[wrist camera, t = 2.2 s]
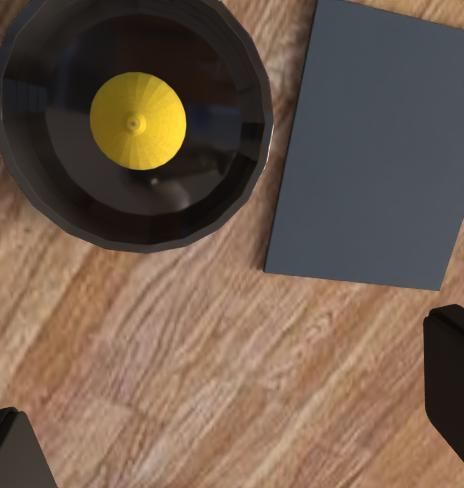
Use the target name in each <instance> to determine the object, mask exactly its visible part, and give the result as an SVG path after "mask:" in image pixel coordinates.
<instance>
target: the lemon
mask: <svg viewBox="0 0 464 488" xmlns="http://www.w3.org/2000/svg"><path fill="white" fill-rule="evenodd" d="M90 127H91V130H92V134H93V137H94V140H95V141H96V143H97V144H98V146H99V148H100V149H101V151H102V152H103V153H104V154H105V155H106V156H107V157H108V158H109V159H111V160H112V161H114V162H115V163H117V164H119V165H121V166H123V167H126V168H129V169H136V170H146V169H153V168H156V167H158V166H160V165H163V164H165V163H166V162H167V161H169V160H170V159H171V158H172V157H174V155H175V154H176V153H177V151H178V150H179V148H180V147H181V145H182V142H183V140H184V137H185V131H186V117H185V111H184V109H183V106H182V103H181V101H180V99H179V98H178V96H177V95H176V93H175V92H174V90H173V89H172V88H171V87H169V86H168V85H167V84H166V83H165V82H164V81H162V80H160V79H159V78H157V77H155V76H153V75H149V74H146V73H142V72H128V73H124V74H121V75H117V76H115V77H113V78H112V79H110V80H109V81H107V82H106V83H105V84H104V85H103V86H102V87H101V88H100V89H99V90H98V91H97V93H96V95H95V97H94V99H93V102H92V105H91V111H90Z"/></svg>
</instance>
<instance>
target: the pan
mask: <svg viewBox="0 0 464 488" xmlns="http://www.w3.org/2000/svg"><path fill="white" fill-rule="evenodd" d="M128 72H142V73H146V74H149V75H153V76H155V77H157V78H159V79H160V80H162V81H164V82H165V83H166V84H167V85H168V86H169V87H171V88H172V89H173V90H174V92H175V93H176V95H177V96H178V98H179V99H180V101H181V103H182V106H183V109H184V111H185V117H186V131H185V137H184V140H183V142H182V145H181V147H180V148H179V150H178V151H177V153H176V154H175V155H174V157H172V158H171V159H170V160H169V161H167V162H166V163H165V164H163V165H160V166H158V167H156V168H153V169H146V170H136V169H129V168H126V167H123V166H121V165H119V164H117V163H115V162H114V161H112V160H111V159H109V158H108V157H107V156H106V155H105V154H104V153H103V152H102V151H101V149H100V148H99V146H98V144H97V143H96V141H95V140H94V137H93V134H92V130H91V127H90V111H91V105H92V102H93V99H94V97H95V95H96V93H97V91H98V90H99V89H100V88H101V87H102V86H103V85H104V84H105V83H106V82H107V81H109V80H110V79H112V78H113V77H115V76H117V75H121V74H124V73H128ZM273 128H274V116H273V107H272V98H271V89H270V81H269V77H268V75H267V72H266V70H265V68H264V65H263V63H262V61H261V58H260V56H259V54H258V51H257V49H256V47H255V44H254V42H253V39H252V37H251V36H250V35H249V33H248V32H247V31H246V30H245V29H244V27H243V26H242V25H241V24H240V23H239V22H238V20H237V19H236V18H235V17H234V16H233V14H232V13H231V12H230V11H229V10H228V8H227V7H226V6H225V5H224V4H223V2H222V1H221V0H30V1H29V3H28V4H27V5H26V6H25V7H24V8H23V10H22V11H21V12H20V13H19V14H18V16H17V17H16V18H15V19H14V20H13V22H12V23H11V24H10V25H9V26H8V28H7V30H6V33H5V35H4V38H3V41H2V44H1V47H0V151H1V154H2V157H3V160H4V163H5V166H6V168H7V169H8V171H9V172H10V174H11V175H12V177H13V178H14V179H15V181H16V182H17V184H18V185H19V187H20V188H21V189H22V191H23V192H24V194H25V195H26V197H27V198H28V199H29V201H30V202H31V204H32V205H33V206H34V207H35V208H37V209H38V210H39V211H40V212H42V213H43V214H44V215H45V216H47V217H48V218H49V219H50V220H52V221H53V222H54V223H55V224H57V225H58V226H59V227H60V228H62V229H63V230H64V231H65V232H67V233H68V234H70V235H73V236H75V237H78V238H80V239H82V240H85V241H87V242H90V243H92V244H94V245H97V246H99V247H102V248H104V249H107V250H116V251H125V252H134V253H144V254H149V253H154V252H160V251H165V250H170V249H176V248H181V247H185V246H188V245H190V244H192V243H194V242H196V241H198V240H200V239H201V238H203V237H205V236H207V235H209V234H211V233H213V232H215V231H217V230H219V229H220V228H221V227H222V226H223V225H224V224H225V223H226V222H227V221H228V220H229V219H230V218H231V217H232V216H233V215H234V214H235V213H236V212H237V211H238V210H239V209H240V208H241V207H242V206H243V205H244V204H245V203H246V202H247V201H248V200H249V198H250V196H251V194H252V192H253V190H254V188H255V186H256V185H257V183H258V181H259V179H260V177H261V175H262V173H263V171H264V169H265V167H266V164H267V161H268V155H269V150H270V144H271V139H272V134H273Z"/></svg>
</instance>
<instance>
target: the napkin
mask: <svg viewBox="0 0 464 488" xmlns="http://www.w3.org/2000/svg"><path fill="white" fill-rule="evenodd" d="M463 218H464V30H462V29H458V28H454V27H450V26H445V25H441V24H437V23H433V22H429V21H425V20H421V19H417V18H413V17H408V16H404V15H400V14H396V13H392V12H388V11H384V10H380V9H376V8H371V7H367V6H363V5H359V4H355V3H351V2H347V1H343V0H316V5H315V10H314V15H313V20H312V25H311V30H310V35H309V40H308V46H307V51H306V56H305V61H304V66H303V71H302V76H301V81H300V86H299V91H298V96H297V101H296V106H295V112H294V117H293V122H292V127H291V132H290V137H289V142H288V147H287V152H286V157H285V162H284V167H283V173H282V178H281V183H280V188H279V193H278V198H277V203H276V208H275V213H274V218H273V223H272V228H271V234H270V239H269V244H268V249H267V254H266V259H265V264H264V269H263V271H264V273H273V274H283V275H292V276H302V277H311V278H321V279H330V280H340V281H349V282H359V283H368V284H378V285H387V286H397V287H406V288H416V289H425V290H435V291H440V288H441V285H442V282H443V279H444V276H445V273H446V270H447V267H448V264H449V261H450V258H451V255H452V252H453V249H454V245H455V242H456V239H457V236H458V233H459V230H460V227H461V224H462V221H463Z"/></svg>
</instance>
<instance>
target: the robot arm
mask: <svg viewBox="0 0 464 488" xmlns="http://www.w3.org/2000/svg"><path fill="white" fill-rule="evenodd" d="M423 333H424V380H425V410H426V413H427V416H428V418H429V420H430V422H431V423H432V425H433V426H434V427H435V428H436V429H437V431H438V432H439V433H440V434H441V435H442V437H443V438H444V439H445V440H446V441H447V443H448V444H449V445H450V446H451V447H452V449H453V450H454V451H455V452H456V453H457V455H458V456H459V457H460V458H461V459H462V461H463V462H464V308H463V307H461V306H460V305H457V304H452V305H448V306H443V307H439V308H435V309H432V310H430V312H429V316H428V317H425V318H424V322H423ZM0 488H58V487H57V485H56V483H55V480H54V478H53V476H52V473H51V471H50V469H49V466H48V464H47V462H46V459H45V457H44V454H43V452H42V450H41V447H40V445H39V443H38V440H37V438H36V436H35V433H34V431H33V428H32V426H31V424H30V421H29V419H28V417H27V415H26V413H25V412H23V411H20V412H18V410H17V409H16V408H15V407H8V408H3V409H0Z"/></svg>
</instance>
